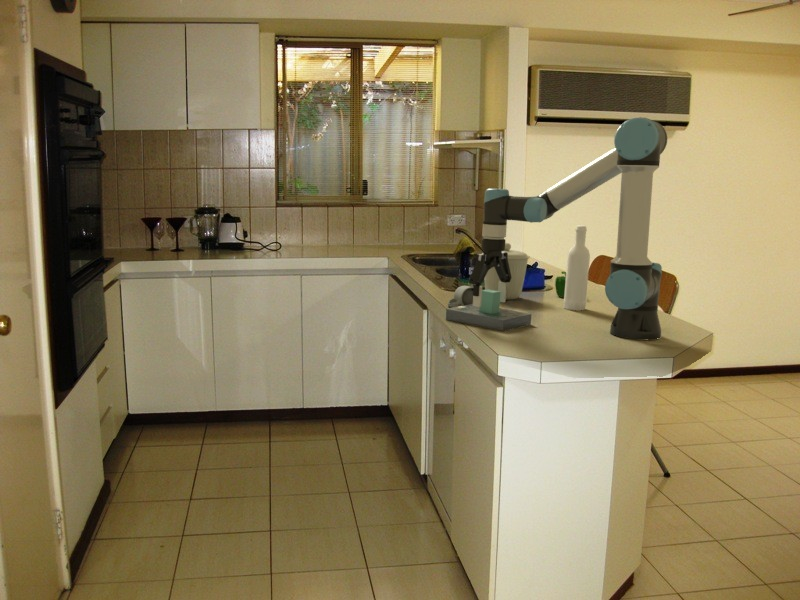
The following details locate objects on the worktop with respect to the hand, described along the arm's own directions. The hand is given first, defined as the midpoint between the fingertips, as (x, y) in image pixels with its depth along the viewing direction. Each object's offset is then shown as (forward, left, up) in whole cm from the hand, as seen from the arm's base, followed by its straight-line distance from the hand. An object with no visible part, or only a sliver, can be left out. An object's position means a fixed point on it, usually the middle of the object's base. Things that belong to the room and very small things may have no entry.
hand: (489, 304), depth 252 cm
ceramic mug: (+21, -15, -6) cm, 27 cm away
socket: (0, 0, -6) cm, 6 cm away
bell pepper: (+10, -67, -6) cm, 68 cm away
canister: (+24, -44, -6) cm, 50 cm away
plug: (0, 0, -5) cm, 5 cm away
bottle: (-5, -47, -6) cm, 48 cm away
